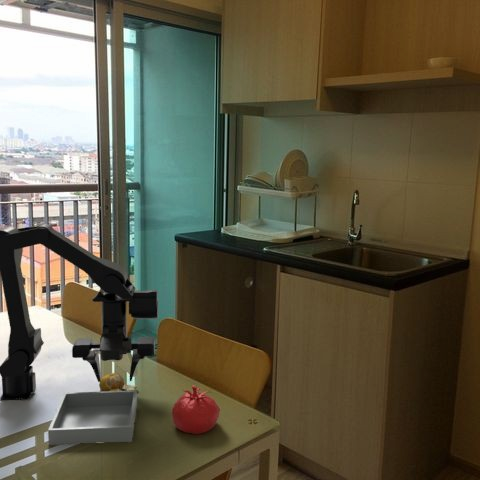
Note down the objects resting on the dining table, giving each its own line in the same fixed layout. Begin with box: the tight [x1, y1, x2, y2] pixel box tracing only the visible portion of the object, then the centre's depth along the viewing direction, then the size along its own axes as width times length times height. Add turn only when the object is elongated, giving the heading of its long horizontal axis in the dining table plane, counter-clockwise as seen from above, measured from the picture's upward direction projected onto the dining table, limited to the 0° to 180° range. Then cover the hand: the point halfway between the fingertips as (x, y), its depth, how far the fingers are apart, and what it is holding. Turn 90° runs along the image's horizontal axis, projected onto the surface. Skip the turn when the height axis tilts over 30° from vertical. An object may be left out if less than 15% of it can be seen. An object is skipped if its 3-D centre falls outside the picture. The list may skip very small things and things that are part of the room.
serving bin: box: [47, 389, 138, 446], centre depth 114 cm, size 16×16×4 cm
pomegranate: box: [171, 384, 221, 435], centre depth 114 cm, size 10×10×9 cm
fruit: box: [98, 372, 138, 392], centre depth 130 cm, size 8×8×4 cm
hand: (115, 381), depth 129 cm, fingers open, 7 cm apart
